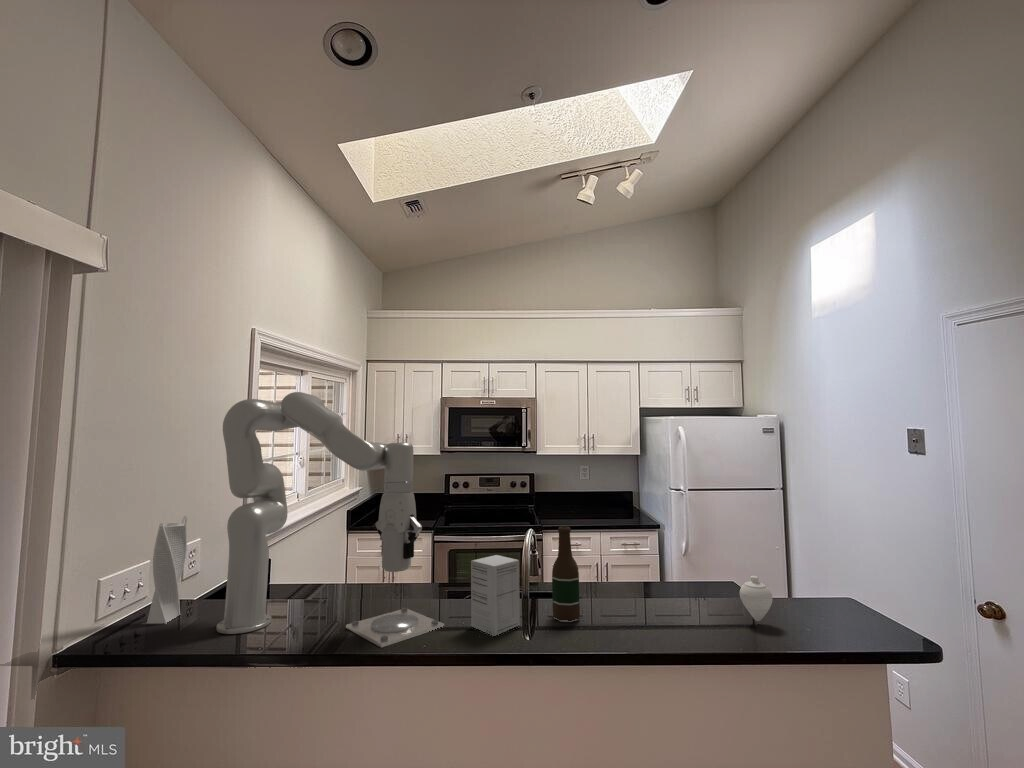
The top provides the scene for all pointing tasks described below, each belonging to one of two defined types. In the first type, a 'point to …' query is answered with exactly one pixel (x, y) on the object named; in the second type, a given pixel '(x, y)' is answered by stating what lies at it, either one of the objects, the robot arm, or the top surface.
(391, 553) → the can
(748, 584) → the spinning top
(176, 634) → the top surface
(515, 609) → the supplement box
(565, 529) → the beer bottle
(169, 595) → the skyscraper
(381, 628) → the flange
